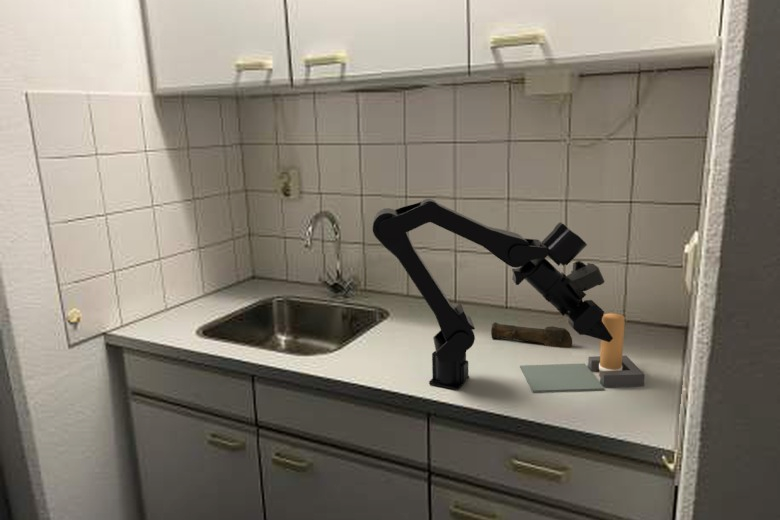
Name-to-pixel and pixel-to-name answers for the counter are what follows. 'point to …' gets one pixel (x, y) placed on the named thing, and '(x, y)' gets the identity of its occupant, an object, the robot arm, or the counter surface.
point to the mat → (560, 378)
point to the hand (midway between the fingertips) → (602, 331)
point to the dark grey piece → (618, 373)
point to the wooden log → (533, 334)
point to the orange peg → (612, 343)
